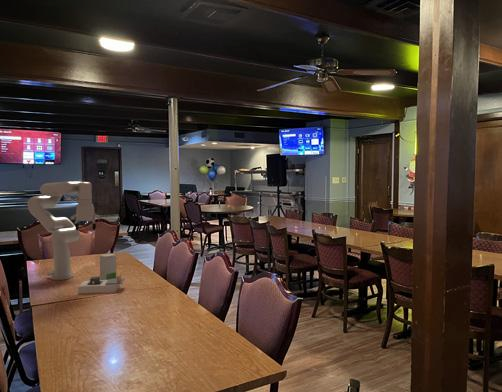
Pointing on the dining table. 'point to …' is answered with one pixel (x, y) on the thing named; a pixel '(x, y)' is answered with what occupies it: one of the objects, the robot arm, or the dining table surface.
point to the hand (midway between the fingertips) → (85, 229)
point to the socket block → (97, 287)
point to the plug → (95, 281)
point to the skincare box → (108, 267)
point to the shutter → (116, 280)
